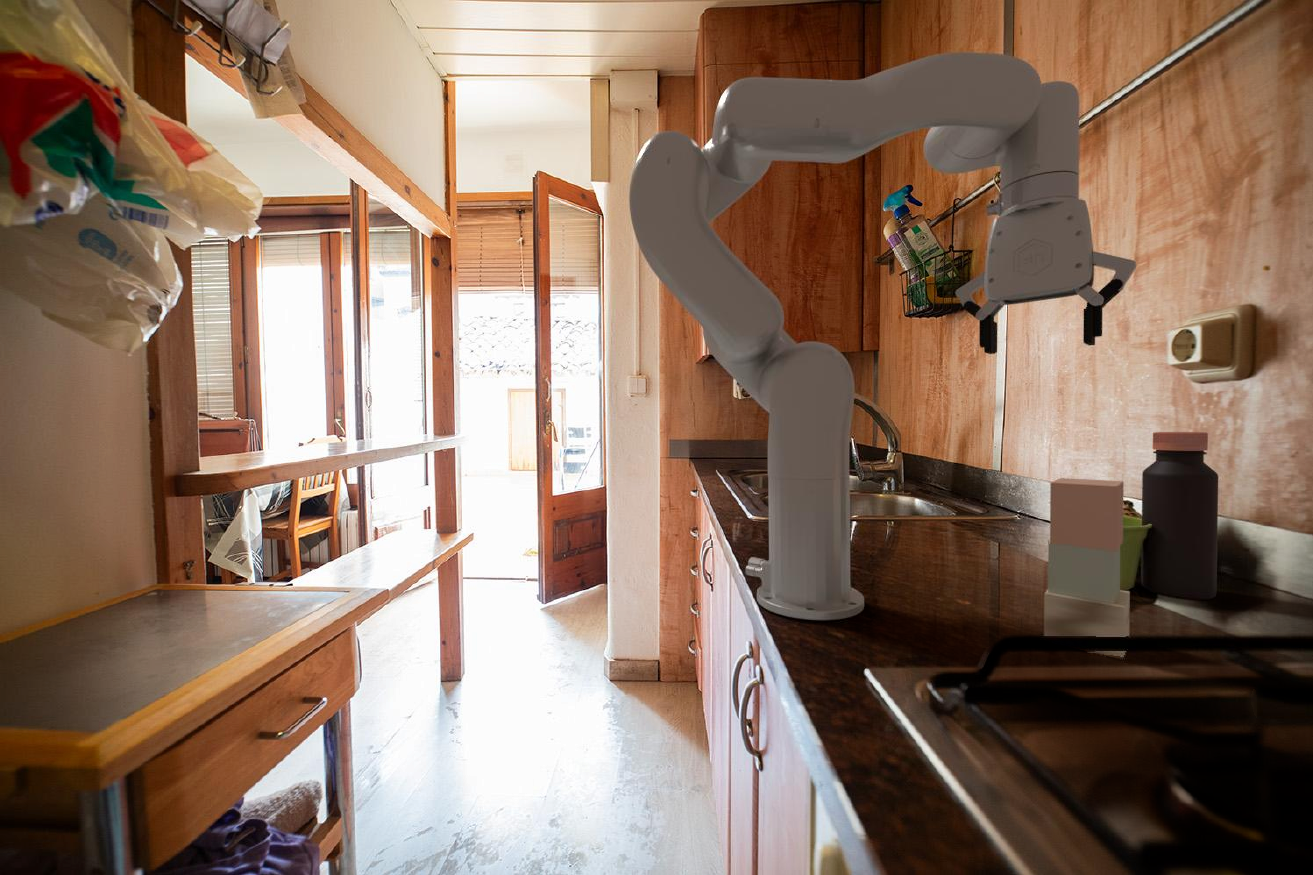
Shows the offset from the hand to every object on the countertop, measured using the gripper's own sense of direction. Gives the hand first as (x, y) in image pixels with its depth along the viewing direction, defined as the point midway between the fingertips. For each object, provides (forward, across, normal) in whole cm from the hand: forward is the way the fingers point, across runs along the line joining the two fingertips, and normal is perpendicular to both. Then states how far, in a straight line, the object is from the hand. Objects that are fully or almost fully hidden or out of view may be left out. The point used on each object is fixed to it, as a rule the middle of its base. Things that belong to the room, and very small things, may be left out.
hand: (1037, 348), depth 64 cm
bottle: (+31, +12, +16) cm, 36 cm away
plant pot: (+31, +5, +14) cm, 34 cm away
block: (+20, +6, -10) cm, 23 cm away
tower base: (+30, +6, -10) cm, 32 cm away
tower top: (+25, +6, -10) cm, 28 cm away
